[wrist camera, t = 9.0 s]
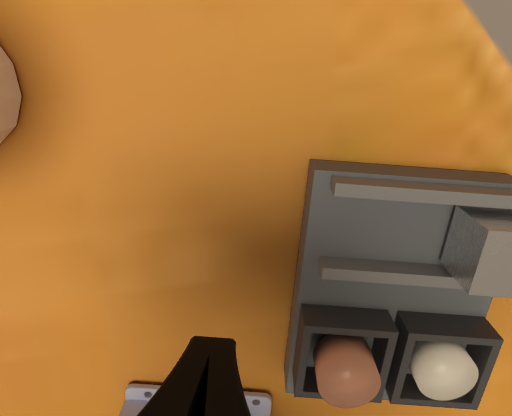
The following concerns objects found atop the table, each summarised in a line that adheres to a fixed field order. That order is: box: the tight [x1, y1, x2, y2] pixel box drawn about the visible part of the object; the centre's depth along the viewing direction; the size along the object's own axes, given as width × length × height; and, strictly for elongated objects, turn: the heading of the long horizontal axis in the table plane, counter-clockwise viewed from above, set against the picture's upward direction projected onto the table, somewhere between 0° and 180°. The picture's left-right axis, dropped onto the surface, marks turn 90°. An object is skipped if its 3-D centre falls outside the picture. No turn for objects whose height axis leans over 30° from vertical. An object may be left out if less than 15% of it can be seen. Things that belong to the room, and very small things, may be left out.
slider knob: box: [440, 205, 512, 298], centre depth 17 cm, size 3×3×3 cm
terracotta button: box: [313, 334, 381, 408], centre depth 19 cm, size 3×3×2 cm
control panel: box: [284, 159, 512, 410], centre depth 20 cm, size 10×14×4 cm
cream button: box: [408, 340, 479, 401], centre depth 20 cm, size 3×3×2 cm
